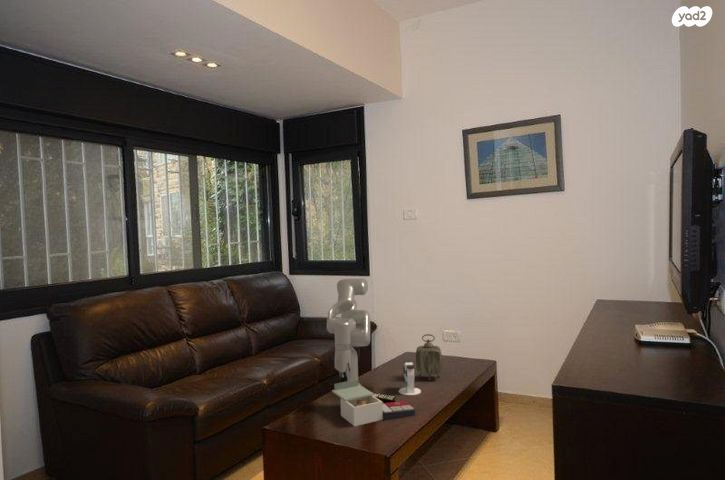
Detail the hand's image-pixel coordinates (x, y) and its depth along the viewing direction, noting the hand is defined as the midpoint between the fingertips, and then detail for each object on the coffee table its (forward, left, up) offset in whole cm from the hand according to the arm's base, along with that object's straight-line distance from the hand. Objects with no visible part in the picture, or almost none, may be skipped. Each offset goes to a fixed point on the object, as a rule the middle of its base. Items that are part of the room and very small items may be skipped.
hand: (344, 384), depth 230 cm
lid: (+9, 0, -1) cm, 9 cm away
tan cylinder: (+18, 0, -9) cm, 20 cm away
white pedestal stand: (0, +37, -10) cm, 38 cm away
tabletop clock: (-11, +57, -10) cm, 59 cm away
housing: (+18, 0, -10) cm, 20 cm away
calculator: (+22, +15, -10) cm, 29 cm away
